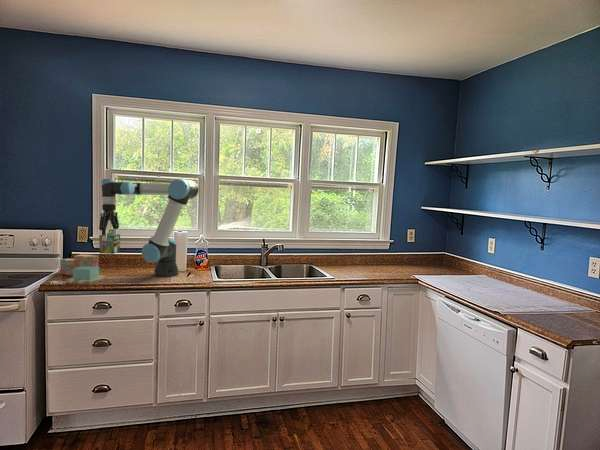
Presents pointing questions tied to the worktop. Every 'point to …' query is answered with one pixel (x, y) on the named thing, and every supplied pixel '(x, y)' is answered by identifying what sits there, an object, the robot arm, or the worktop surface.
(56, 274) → the worktop surface
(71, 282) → the build plate
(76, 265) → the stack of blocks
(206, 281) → the worktop surface
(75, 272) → the brick
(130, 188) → the robot arm
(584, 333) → the worktop surface
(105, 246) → the chalk box
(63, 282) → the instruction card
